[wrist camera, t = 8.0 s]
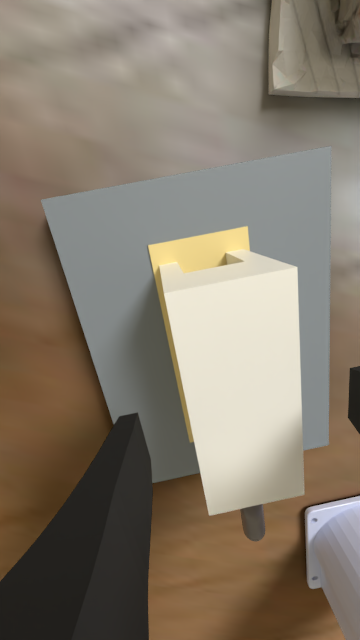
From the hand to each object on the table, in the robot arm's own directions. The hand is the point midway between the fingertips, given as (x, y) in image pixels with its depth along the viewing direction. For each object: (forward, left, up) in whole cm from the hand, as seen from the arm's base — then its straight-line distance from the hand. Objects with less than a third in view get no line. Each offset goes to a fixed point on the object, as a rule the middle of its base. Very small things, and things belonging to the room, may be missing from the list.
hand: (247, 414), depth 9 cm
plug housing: (-2, 0, -5) cm, 5 cm away
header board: (0, 0, -7) cm, 7 cm away
